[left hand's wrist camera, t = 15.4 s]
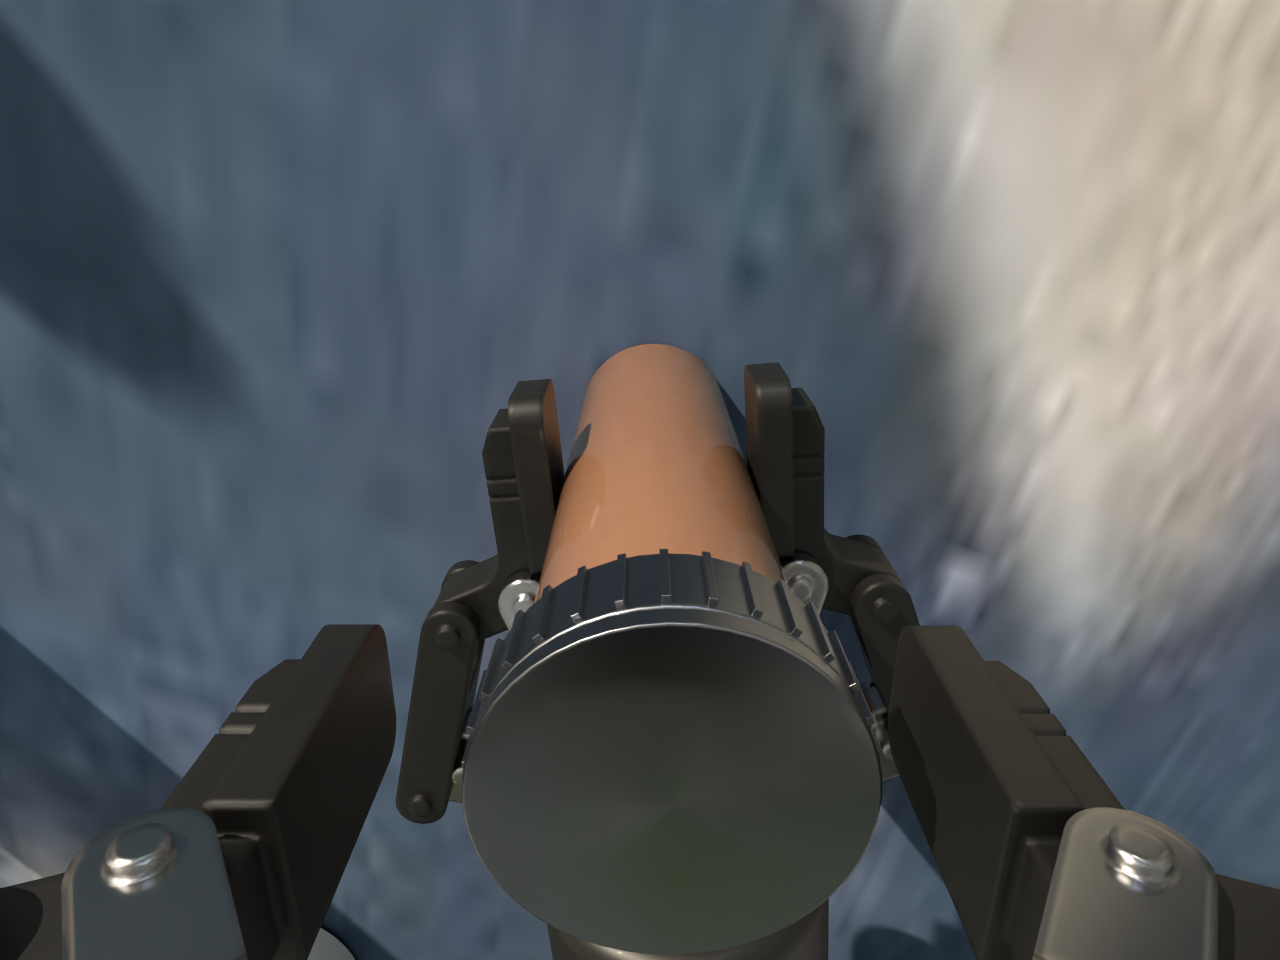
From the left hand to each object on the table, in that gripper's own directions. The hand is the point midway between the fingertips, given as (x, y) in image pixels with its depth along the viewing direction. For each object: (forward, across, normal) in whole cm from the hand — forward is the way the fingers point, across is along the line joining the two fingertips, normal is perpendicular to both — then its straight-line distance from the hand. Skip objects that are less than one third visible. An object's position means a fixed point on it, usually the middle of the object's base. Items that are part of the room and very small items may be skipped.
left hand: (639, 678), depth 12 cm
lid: (-2, 0, 0) cm, 2 cm away
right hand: (+6, 0, -3) cm, 7 cm away
